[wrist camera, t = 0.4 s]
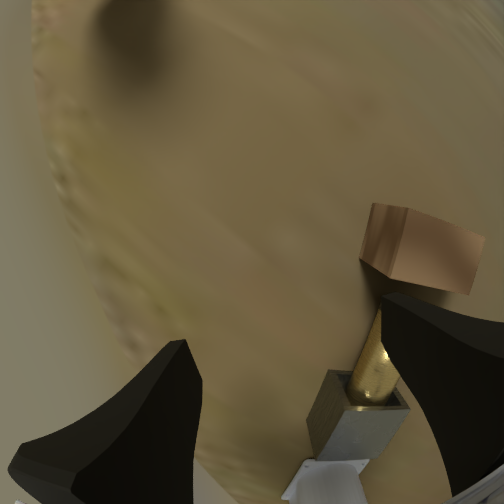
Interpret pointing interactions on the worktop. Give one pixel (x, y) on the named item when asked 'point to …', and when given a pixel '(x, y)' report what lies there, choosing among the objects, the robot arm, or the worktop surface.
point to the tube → (372, 372)
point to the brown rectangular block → (421, 249)
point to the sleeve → (351, 422)
